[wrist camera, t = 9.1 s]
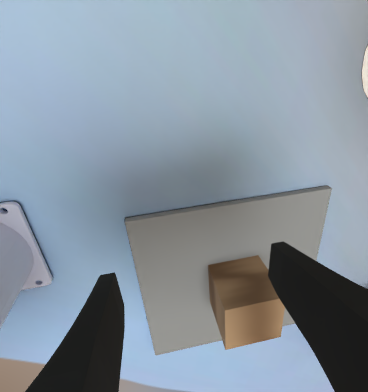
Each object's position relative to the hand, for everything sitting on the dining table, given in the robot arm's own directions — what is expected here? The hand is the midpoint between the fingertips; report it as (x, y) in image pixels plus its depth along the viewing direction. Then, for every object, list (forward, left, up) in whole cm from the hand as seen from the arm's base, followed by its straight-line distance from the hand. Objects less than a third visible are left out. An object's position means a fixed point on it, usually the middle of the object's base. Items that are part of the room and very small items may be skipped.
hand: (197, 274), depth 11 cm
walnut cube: (+5, -11, -9) cm, 15 cm away
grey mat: (+5, -11, -9) cm, 15 cm away
